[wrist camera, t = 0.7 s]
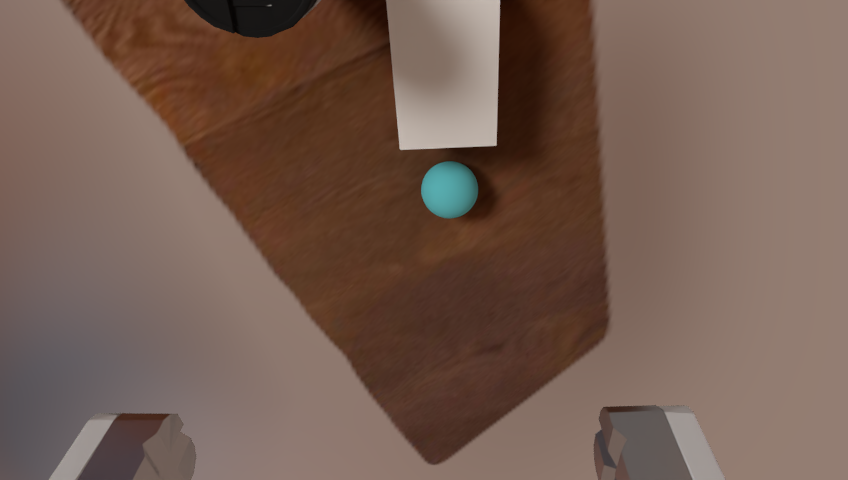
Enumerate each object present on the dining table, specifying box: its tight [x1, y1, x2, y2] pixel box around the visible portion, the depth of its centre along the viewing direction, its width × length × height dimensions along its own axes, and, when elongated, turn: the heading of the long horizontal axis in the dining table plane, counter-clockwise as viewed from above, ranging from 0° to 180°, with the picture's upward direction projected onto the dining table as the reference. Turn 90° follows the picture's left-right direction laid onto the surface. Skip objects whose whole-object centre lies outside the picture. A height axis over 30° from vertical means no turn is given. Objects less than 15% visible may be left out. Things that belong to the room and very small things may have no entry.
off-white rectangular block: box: [386, 0, 500, 150], centre depth 38 cm, size 11×7×8 cm, turn 3°
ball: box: [421, 161, 478, 218], centre depth 46 cm, size 5×5×5 cm
